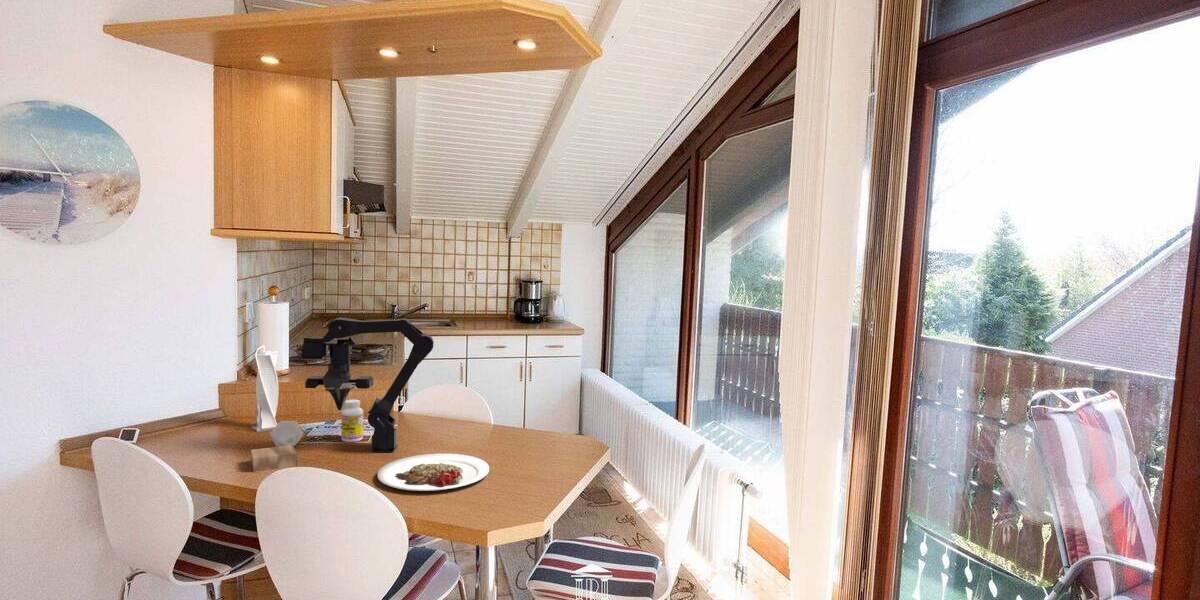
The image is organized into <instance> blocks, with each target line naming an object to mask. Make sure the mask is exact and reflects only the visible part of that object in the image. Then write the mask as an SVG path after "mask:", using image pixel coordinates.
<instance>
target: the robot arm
mask: <svg viewBox="0 0 1200 600" xmlns="http://www.w3.org/2000/svg"><path fill="white" fill-rule="evenodd" d="M327 330H328V331H327V332H326V334H324V335H323V337H312V336H306V337H304V338H303V341H302V342H303V343H302V349H301V358H302V360H304V361H314V360H315V361H318V360H319V361H321V360H324V359H325V357H328V355H329V364H328V366H327V367H328V368H327V371H326V372H325V374H324V375H311V376H309V377H307V379H305V381H304V382H305V383H304V388H305V389H316V388H317V387H318V386H323V387H324V391H325V392H328V393H329V394H331V397H332V398H333V401H334V403H335V405H336V408H337V411H342V410H343V407H344V406H345V401H347V400H346V399H347V397H348V395H349V393H350V392H351V391H352V390H353V389H355V388H357V389H361V390H362V389H370V388H372V387H373V386H374V377H372V376H369V375H367V376H366V375H360V376H359V377H357V378H351V377H352V374H351V370H350V369H351V364H352V363H351V349H350V347H351V346H355V345H356V344H357V343H358V342H357V341H356V340H355V339H354V338H353V336H355V335H360V334H375V333H376V334H378V333H379V334H380V333H401V334H402V335H404V337H405V338H406V339H407V340H409V342H410V343H411V344H412V348H411V350H410V352H409V355H408V357H407V359H406V361H405V362H404V364H403V365H402V366H401V369H400V370H399V371H398V373H397V375H396V377H395V378H394V379H393V380H392V381H393V382H391V385H390V386H389V388H388V389H387V391H386V393H385V394H384V395H383V396H382V397H381V398H379V397H376V398H375V399H374V402H373V404H372V405H371V406H370V407H369V409H368V411H367V414H368V415H367V423H368V425H369V426H370V427H372V428H373V434H372V435H371V449H372V450H371V452H372V453H394V452H395V451H396V450H397V448H398V447H399V445H398V444H397V428H395V426H396V422H397V421H396V419H395V418H394V417H393V416H392V415H391V412H392V411H393V407H394V404H395V402H396V400H397V399H398V398H399V396H400V394H401V393H402V392H403V390H404V388H405V386H406V385H407V384H408V382H409V380H410V378H411V377H412V375H413V374H414V372H415V371H416V369H417V367H418V366H419V364H420V363H421V362H422V361H424V360H425V359H426V357H427V356H428V355H429V354H430V353H431V352H432V351H433V349H434V345H435V344H434V342H435V341H434V339H433V337H432V336H431V335H430V334H428V333H423V332H422V331H421V330H420V329H418V327H417V326H415V325H414V324H412V323H411V321H410V320H409V319H407V318H405V317H404V318H399V319H397V318H396V319H376V320H375V319H374V320H371V319H370V320H360V319H355V318H348V317H337V318H335V319H334V320H332V321H331V322H330V323H329V324H328V329H327ZM347 337H348V338H347ZM334 339H337V341H333V340H334Z"/></svg>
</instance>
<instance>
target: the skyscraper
mask: <svg viewBox="0 0 1200 600" xmlns="http://www.w3.org/2000/svg"><path fill="white" fill-rule="evenodd" d="M260 349H262V351H261V353H258V351H259V350H260ZM279 353H280V352H279V351H276V350H275V351H273V352H272V350H266V346H265V345H262V346H260V347H258V348H257V349H256V351H255V354H254V357H255V362H256V365H257V374H256V380H255V395H256V396H255V397H256V420H255V423H256V425H252V426H251V429H253V430H254V431H255V432H256V433H260V432H261V433H262V432H266V431H268V432H269V431H272V430H273V429H274V428H275V427H276V426H277V424H278V423H277V420H276V414H277V410H278V403H279V377H278V373H277V370H276V366H277V361H278V358H279Z"/></svg>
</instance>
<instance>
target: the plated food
mask: <svg viewBox="0 0 1200 600" xmlns="http://www.w3.org/2000/svg"><path fill="white" fill-rule="evenodd" d="M489 471H490V466H489V463H487V462H486V461H485V460H483V459H480V458H478V457H475V456H472V455H466V454H460V453H445V452H444V453H425V454H416V455H412V456H408V457H407V456H406V457H403V458H398V459H396V460H393V461H391V462H388V463H387V464H385V465H383V466H382V467H380V468H379V470H378V471H377V479H378V480H379V482H381V483H382V484H384V485H386V486H388V487H391V488H395V489H399V490H406V491H419V492H420V491H421V492H429V491H430V492H431V491H432V492H433V491H444V490H448V489H451V490H452V489H457V488H460V487H464V486H469V485H471V484H475V483H476V482H479V481H480V480H483V479H484V478H485V477H486V476H487V475H488V474H489Z"/></svg>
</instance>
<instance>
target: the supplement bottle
mask: <svg viewBox="0 0 1200 600" xmlns="http://www.w3.org/2000/svg"><path fill="white" fill-rule="evenodd" d="M344 406H345V408H342V410H341V438H340V439H341V441H342V442H345V443H356V442H360V441H362V440H363V438H364V409H363V408H362V407H360V406H361V400H359V399H347V400H345V402H344Z"/></svg>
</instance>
